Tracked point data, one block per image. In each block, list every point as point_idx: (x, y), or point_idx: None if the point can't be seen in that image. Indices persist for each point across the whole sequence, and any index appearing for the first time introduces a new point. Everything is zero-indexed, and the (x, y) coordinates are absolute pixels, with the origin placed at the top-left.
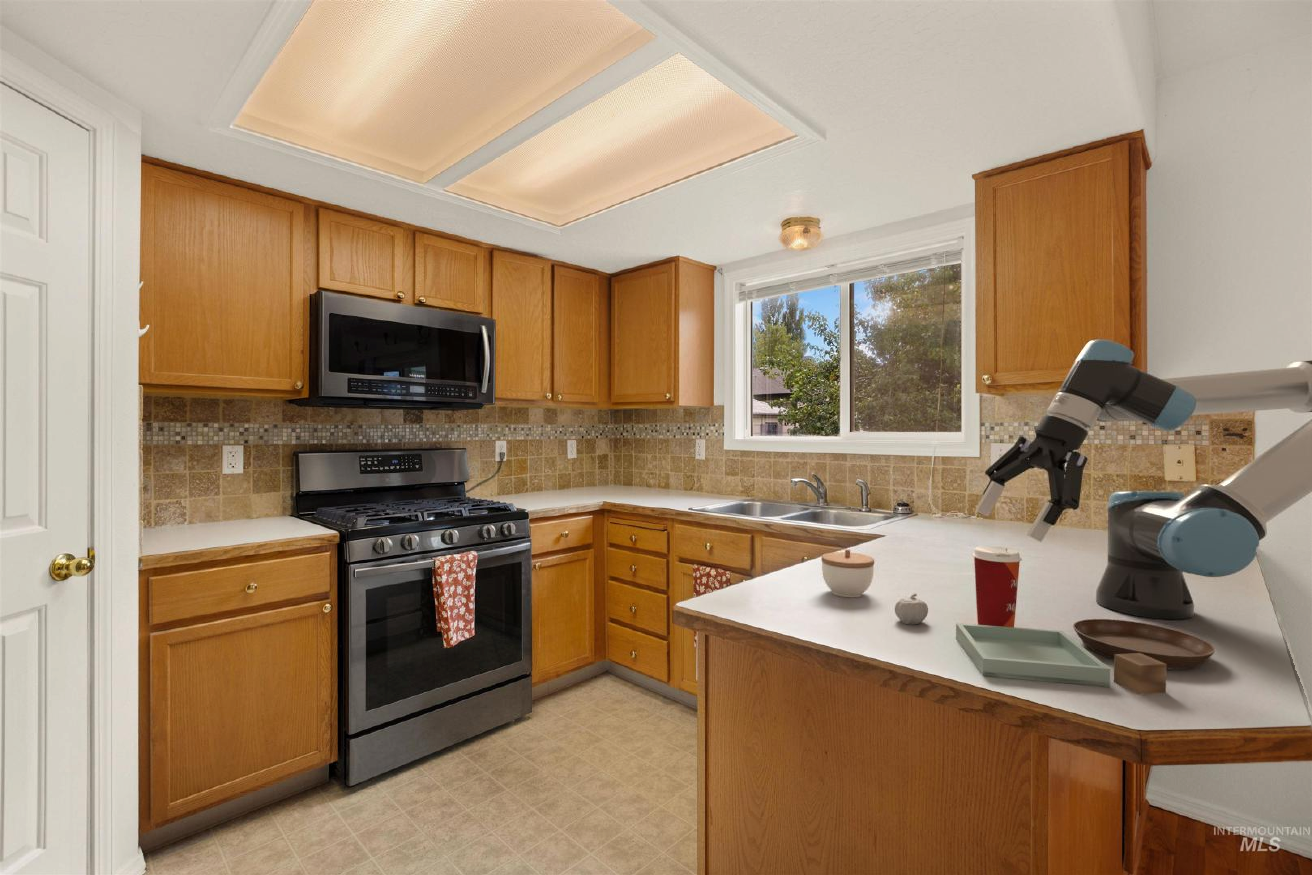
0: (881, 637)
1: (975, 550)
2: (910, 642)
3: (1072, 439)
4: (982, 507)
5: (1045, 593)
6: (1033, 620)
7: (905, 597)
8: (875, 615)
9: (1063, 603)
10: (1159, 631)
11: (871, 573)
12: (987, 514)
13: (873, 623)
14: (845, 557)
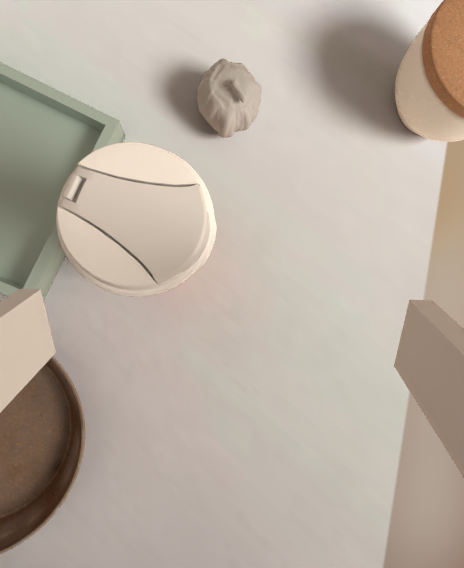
0: (157, 3)
1: (165, 150)
2: (121, 37)
3: None
4: (420, 331)
5: (355, 550)
6: (189, 369)
7: (245, 79)
8: (278, 72)
9: (281, 531)
10: (8, 537)
11: (422, 105)
12: (399, 364)
13: (233, 38)
14: None
